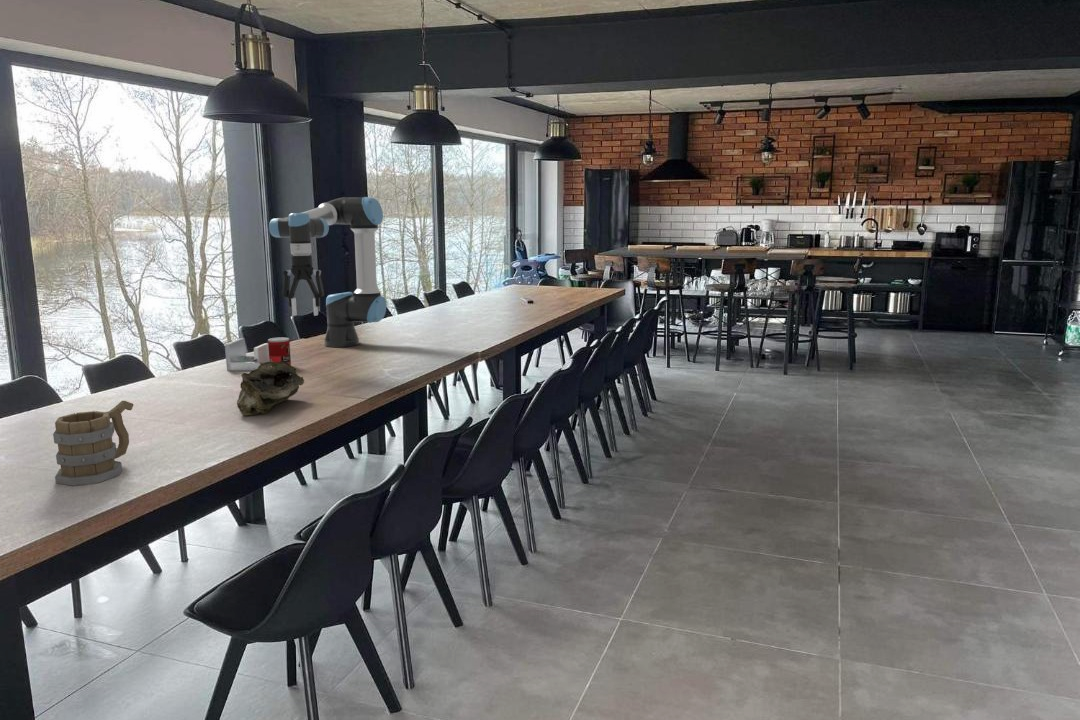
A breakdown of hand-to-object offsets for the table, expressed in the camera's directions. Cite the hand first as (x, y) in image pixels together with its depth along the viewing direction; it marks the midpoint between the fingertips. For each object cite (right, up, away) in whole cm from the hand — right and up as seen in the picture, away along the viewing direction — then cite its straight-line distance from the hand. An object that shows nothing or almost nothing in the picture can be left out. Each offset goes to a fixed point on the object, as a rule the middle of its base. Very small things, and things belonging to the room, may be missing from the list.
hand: (305, 315), depth 292 cm
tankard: (-12, -43, -113) cm, 122 cm away
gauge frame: (-22, -20, +5) cm, 30 cm away
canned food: (-11, -20, +4) cm, 23 cm away
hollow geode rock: (+7, -32, -55) cm, 64 cm away
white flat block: (-18, -20, +3) cm, 27 cm away
